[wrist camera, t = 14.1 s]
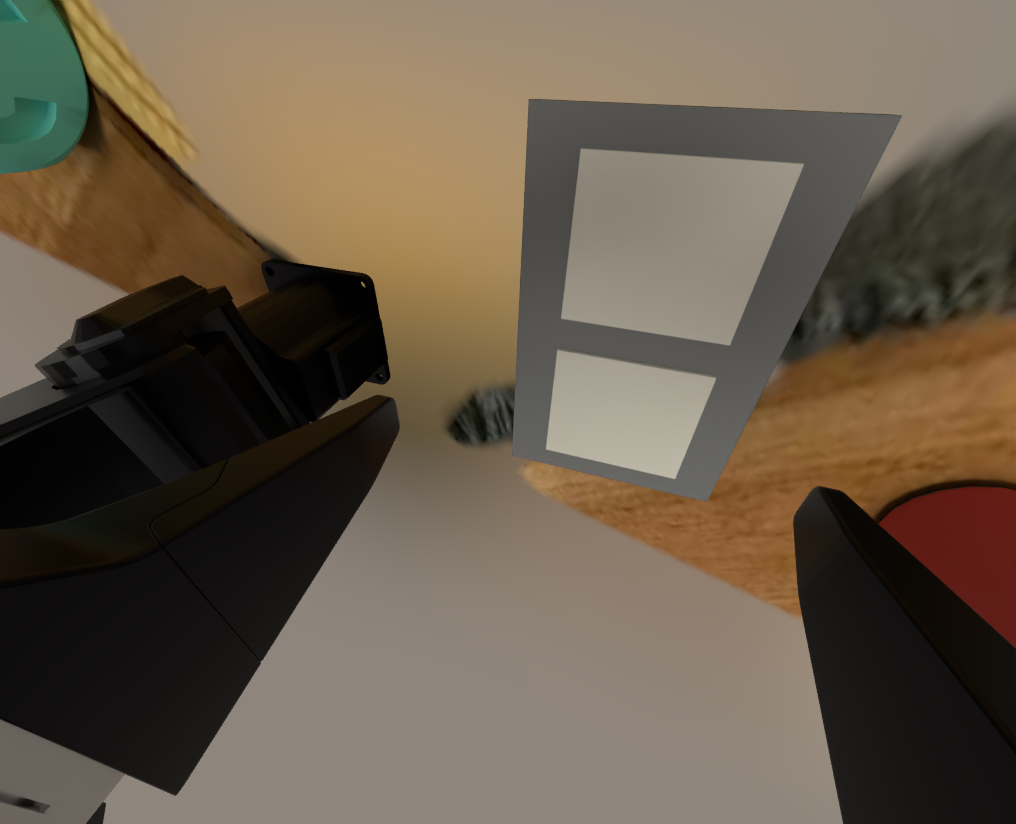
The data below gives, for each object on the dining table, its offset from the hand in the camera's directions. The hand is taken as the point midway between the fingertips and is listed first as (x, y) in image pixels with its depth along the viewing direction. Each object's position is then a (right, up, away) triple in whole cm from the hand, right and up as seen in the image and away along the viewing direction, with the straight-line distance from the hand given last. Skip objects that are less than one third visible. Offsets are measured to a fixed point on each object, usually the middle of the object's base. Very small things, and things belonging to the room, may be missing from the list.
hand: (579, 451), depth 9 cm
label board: (+4, +4, +10) cm, 11 cm away
